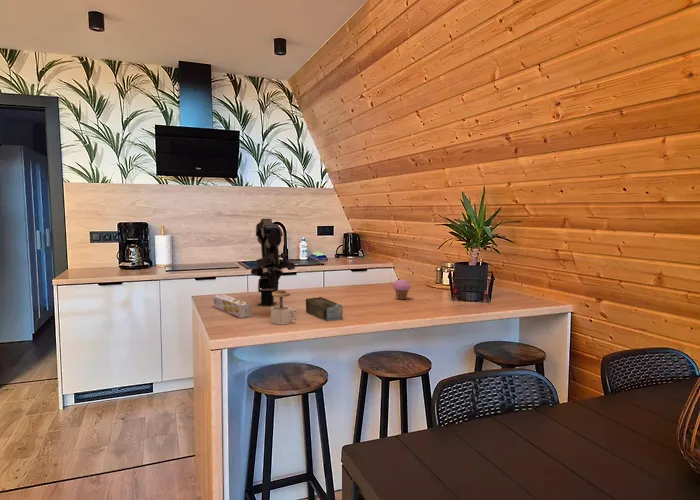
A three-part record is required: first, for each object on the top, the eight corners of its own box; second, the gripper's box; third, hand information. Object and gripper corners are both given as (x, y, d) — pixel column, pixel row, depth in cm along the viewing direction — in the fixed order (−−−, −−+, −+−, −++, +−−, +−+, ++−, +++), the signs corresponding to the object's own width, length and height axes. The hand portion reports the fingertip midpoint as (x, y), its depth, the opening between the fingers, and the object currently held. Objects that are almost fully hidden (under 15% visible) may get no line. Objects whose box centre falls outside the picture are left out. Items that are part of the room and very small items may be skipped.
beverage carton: (326, 322, 181) (326, 305, 181) (304, 312, 198) (304, 297, 197) (343, 319, 186) (343, 303, 185) (320, 310, 202) (321, 295, 201)
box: (213, 307, 205) (212, 294, 204) (224, 305, 208) (224, 293, 208) (240, 319, 184) (240, 305, 183) (252, 317, 187) (252, 303, 186)
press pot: (268, 324, 176) (268, 309, 175) (274, 319, 183) (274, 305, 183) (293, 325, 174) (293, 311, 174) (298, 320, 182) (298, 306, 181)
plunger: (277, 305, 183) (277, 288, 182) (293, 306, 181) (293, 289, 180) (268, 308, 176) (268, 291, 176) (285, 310, 174) (285, 292, 173)
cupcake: (411, 300, 225) (411, 280, 224) (393, 300, 225) (394, 280, 224) (408, 297, 234) (409, 278, 233) (392, 297, 234) (392, 277, 233)
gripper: (242, 253, 190) (243, 290, 186) (279, 244, 182) (281, 282, 178) (258, 258, 200) (259, 293, 196) (294, 249, 192) (296, 286, 188)
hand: (273, 288), depth 189 cm, fingers closed
